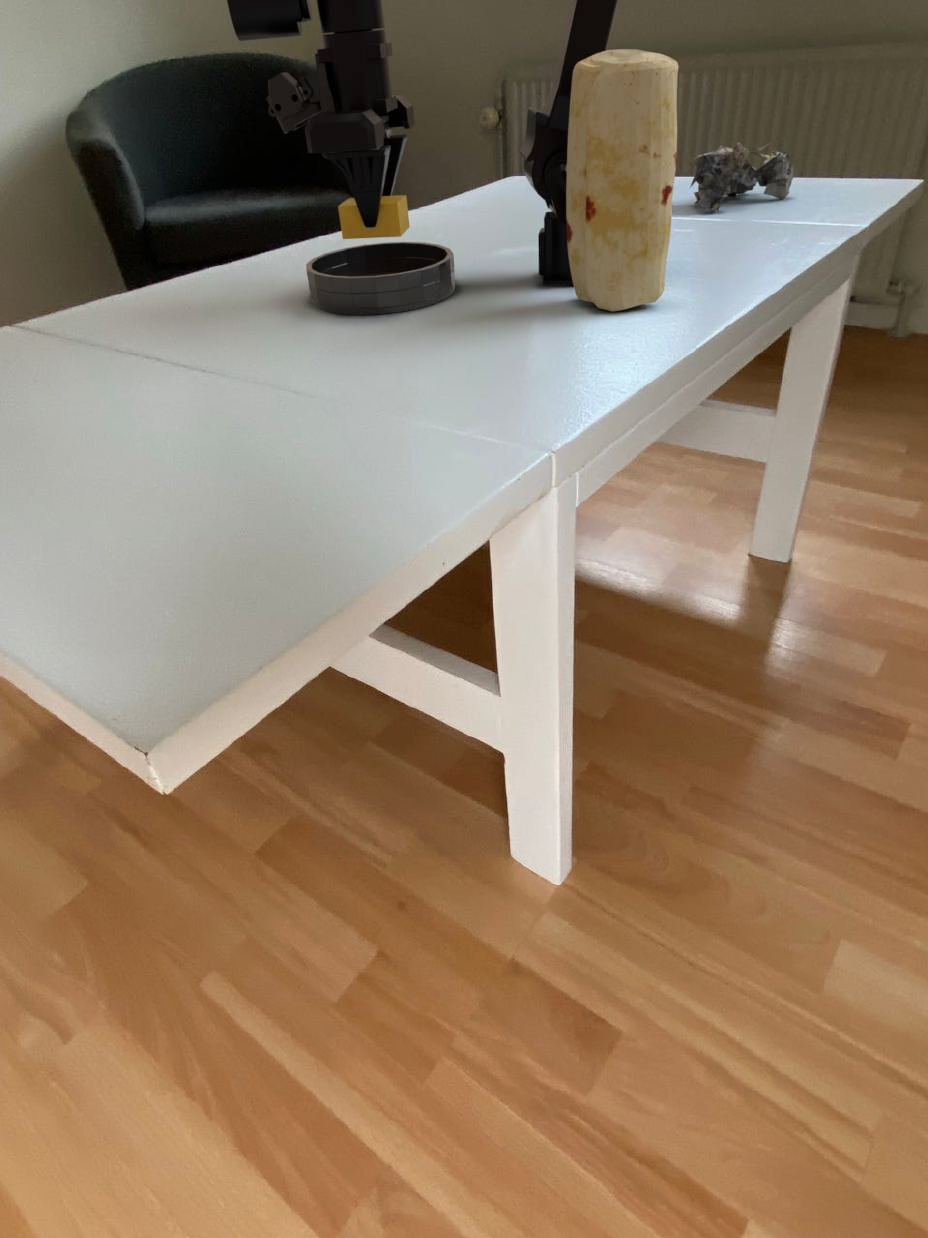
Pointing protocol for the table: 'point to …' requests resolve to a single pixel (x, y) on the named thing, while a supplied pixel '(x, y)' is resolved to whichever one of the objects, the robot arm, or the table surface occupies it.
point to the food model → (621, 176)
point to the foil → (739, 175)
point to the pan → (381, 278)
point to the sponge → (388, 224)
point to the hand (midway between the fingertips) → (376, 221)
